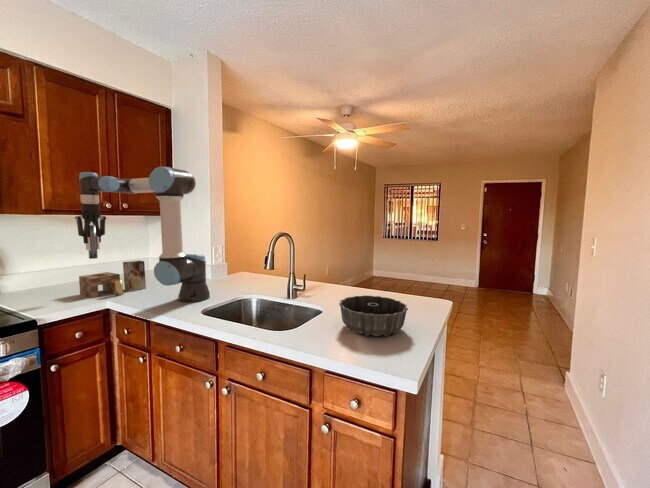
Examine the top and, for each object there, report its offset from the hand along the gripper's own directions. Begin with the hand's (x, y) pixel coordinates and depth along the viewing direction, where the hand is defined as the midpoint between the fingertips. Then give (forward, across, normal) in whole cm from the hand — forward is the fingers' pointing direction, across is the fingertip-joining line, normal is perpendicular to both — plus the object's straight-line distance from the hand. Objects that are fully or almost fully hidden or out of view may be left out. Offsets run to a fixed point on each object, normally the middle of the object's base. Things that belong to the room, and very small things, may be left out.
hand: (92, 249), depth 160 cm
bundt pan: (+24, -26, +142) cm, 146 cm away
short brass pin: (+25, -8, +8) cm, 27 cm away
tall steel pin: (+5, 0, 0) cm, 5 cm away
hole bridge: (+25, -5, -5) cm, 26 cm away
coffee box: (+25, -20, +2) cm, 32 cm away
